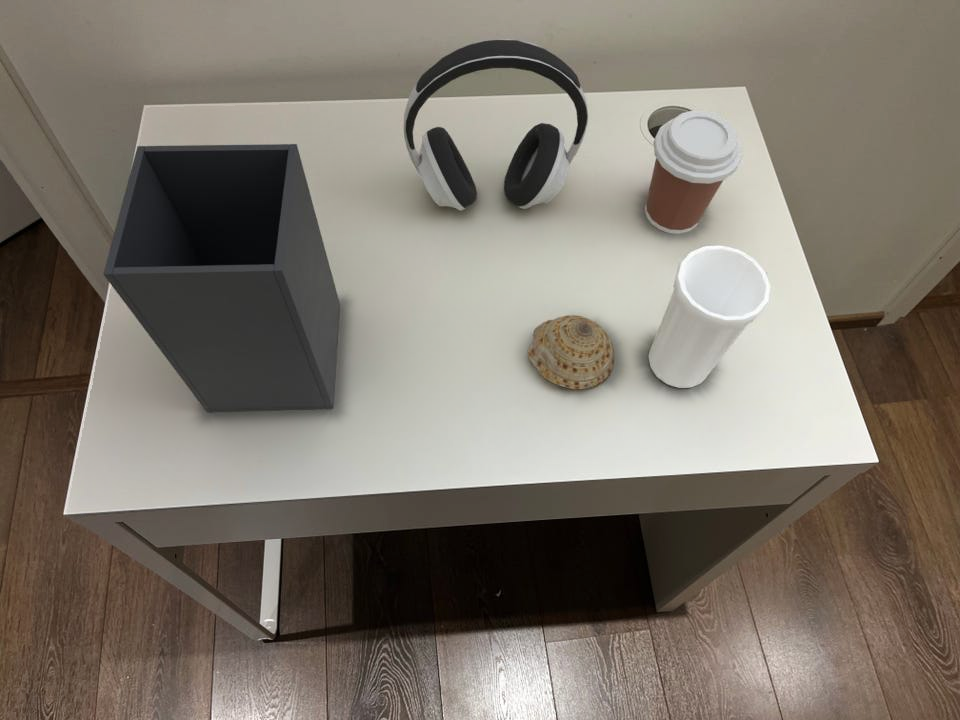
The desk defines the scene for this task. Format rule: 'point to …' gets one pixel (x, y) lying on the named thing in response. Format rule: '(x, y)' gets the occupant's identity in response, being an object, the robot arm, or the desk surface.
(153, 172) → the wastebasket
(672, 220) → the coffee cup
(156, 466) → the desk surface
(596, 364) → the seashell
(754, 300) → the cup
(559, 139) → the headphones
